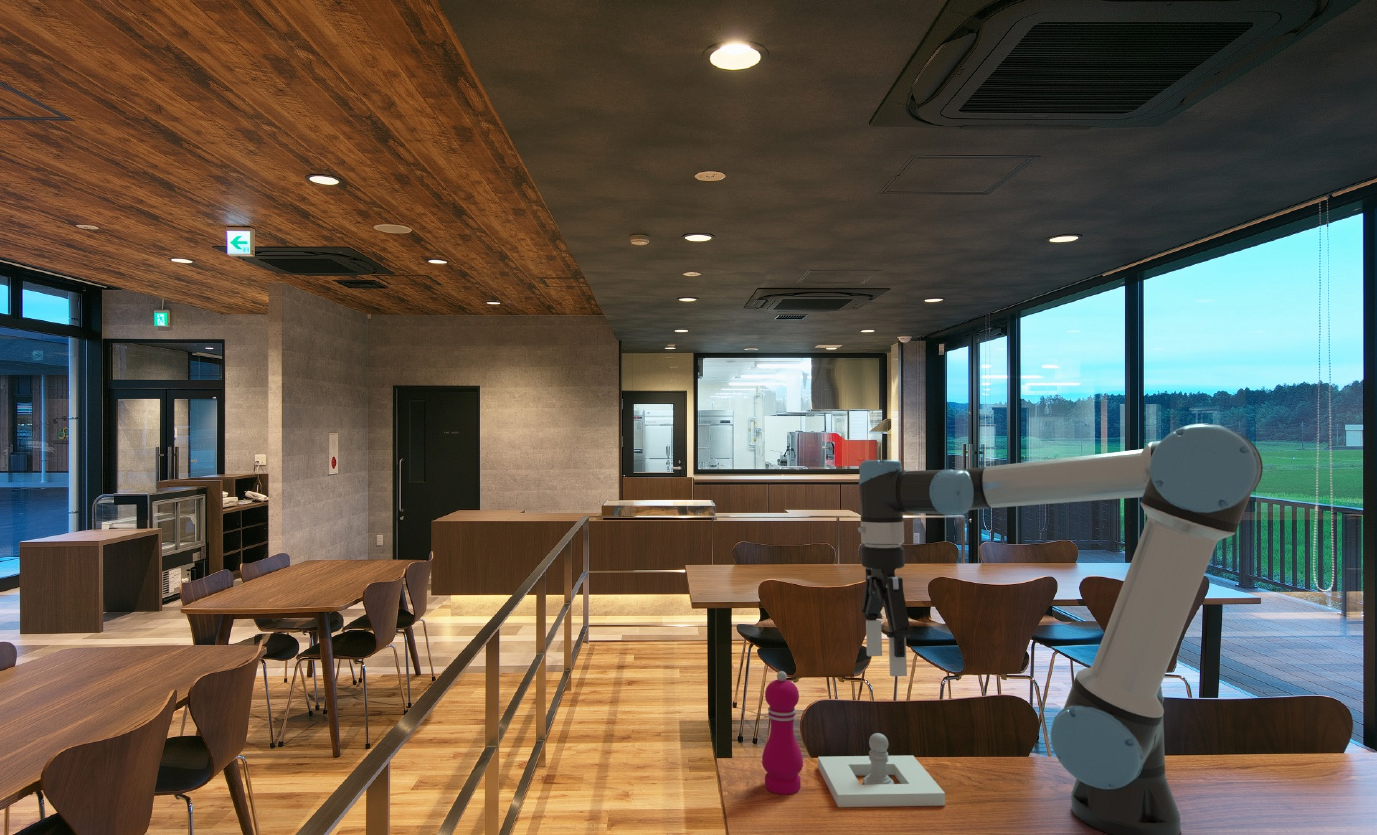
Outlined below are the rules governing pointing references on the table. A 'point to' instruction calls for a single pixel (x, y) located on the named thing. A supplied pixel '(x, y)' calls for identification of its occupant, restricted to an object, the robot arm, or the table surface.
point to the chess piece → (878, 761)
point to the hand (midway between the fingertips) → (885, 665)
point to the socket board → (850, 793)
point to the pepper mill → (782, 738)
